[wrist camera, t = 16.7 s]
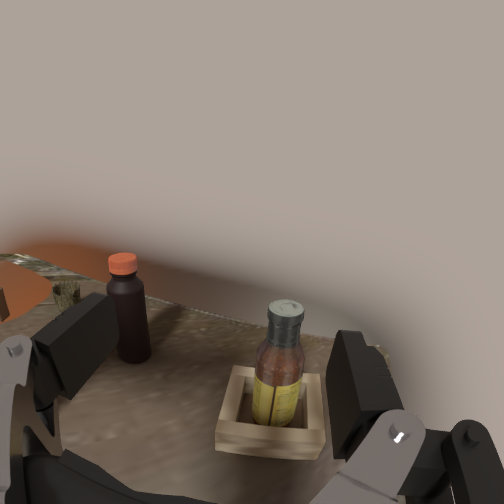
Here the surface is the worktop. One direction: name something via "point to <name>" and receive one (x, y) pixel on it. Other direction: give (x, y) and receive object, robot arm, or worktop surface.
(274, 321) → the sauce bottle
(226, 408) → the socket block
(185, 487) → the worktop surface
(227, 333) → the worktop surface
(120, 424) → the worktop surface
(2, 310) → the wooden block
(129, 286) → the vinegar
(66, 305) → the cup
